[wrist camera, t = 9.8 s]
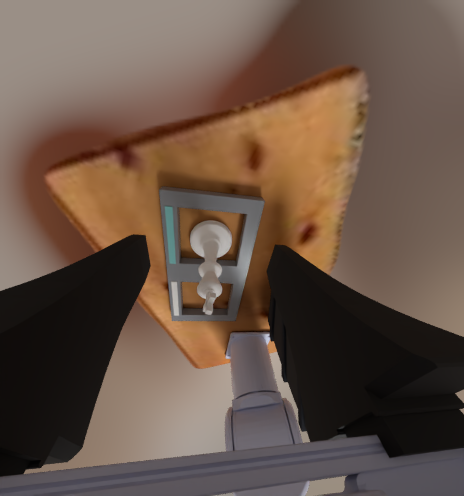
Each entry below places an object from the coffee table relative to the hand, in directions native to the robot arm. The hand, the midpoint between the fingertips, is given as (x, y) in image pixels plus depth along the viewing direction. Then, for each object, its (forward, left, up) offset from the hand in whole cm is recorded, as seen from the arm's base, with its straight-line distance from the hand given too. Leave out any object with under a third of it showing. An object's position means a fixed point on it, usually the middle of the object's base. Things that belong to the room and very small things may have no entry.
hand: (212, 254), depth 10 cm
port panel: (-9, 0, -9) cm, 13 cm away
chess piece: (-5, 0, -10) cm, 11 cm away
